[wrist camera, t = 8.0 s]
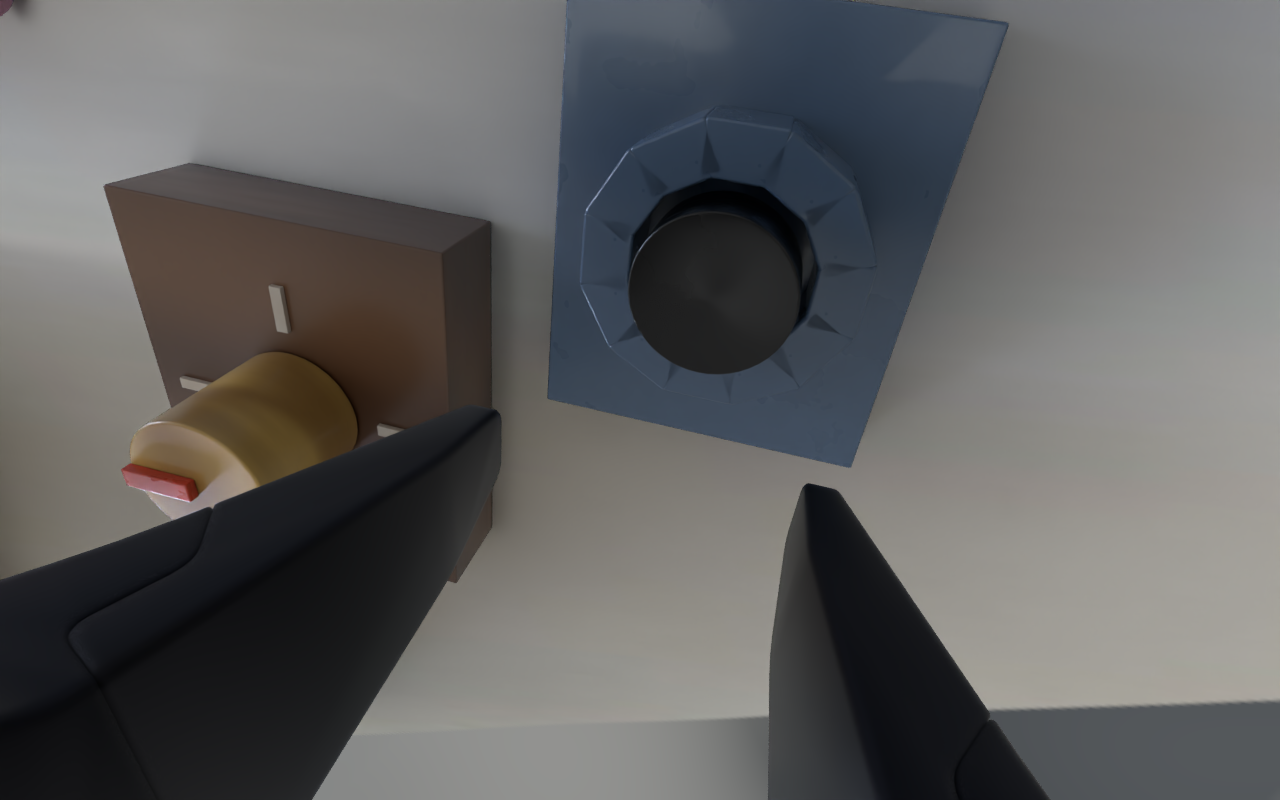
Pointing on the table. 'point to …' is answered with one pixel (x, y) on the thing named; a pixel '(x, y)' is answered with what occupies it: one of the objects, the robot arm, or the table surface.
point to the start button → (717, 283)
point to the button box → (758, 193)
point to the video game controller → (5, 6)
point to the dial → (241, 434)
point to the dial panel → (312, 293)
